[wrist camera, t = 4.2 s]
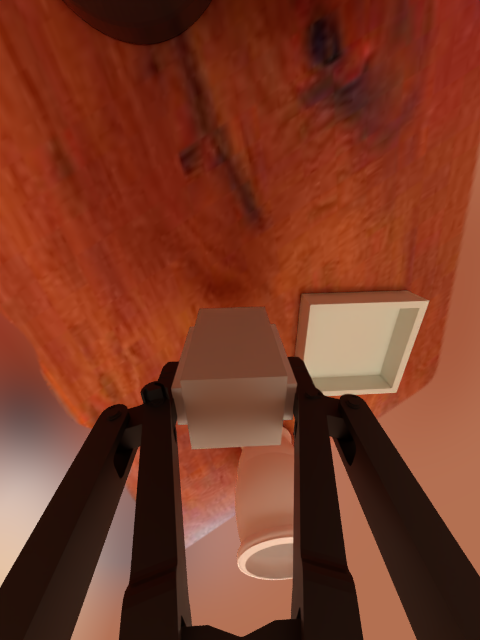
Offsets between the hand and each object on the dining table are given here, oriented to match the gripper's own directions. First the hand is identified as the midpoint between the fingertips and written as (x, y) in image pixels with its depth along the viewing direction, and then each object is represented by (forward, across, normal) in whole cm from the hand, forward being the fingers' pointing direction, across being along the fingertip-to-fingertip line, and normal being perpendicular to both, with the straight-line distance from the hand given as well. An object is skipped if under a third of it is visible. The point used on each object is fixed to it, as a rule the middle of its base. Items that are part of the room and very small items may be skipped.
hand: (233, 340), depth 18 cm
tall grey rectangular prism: (+1, 0, 0) cm, 1 cm away
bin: (+10, +15, -7) cm, 19 cm away
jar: (+10, +5, -26) cm, 28 cm away
